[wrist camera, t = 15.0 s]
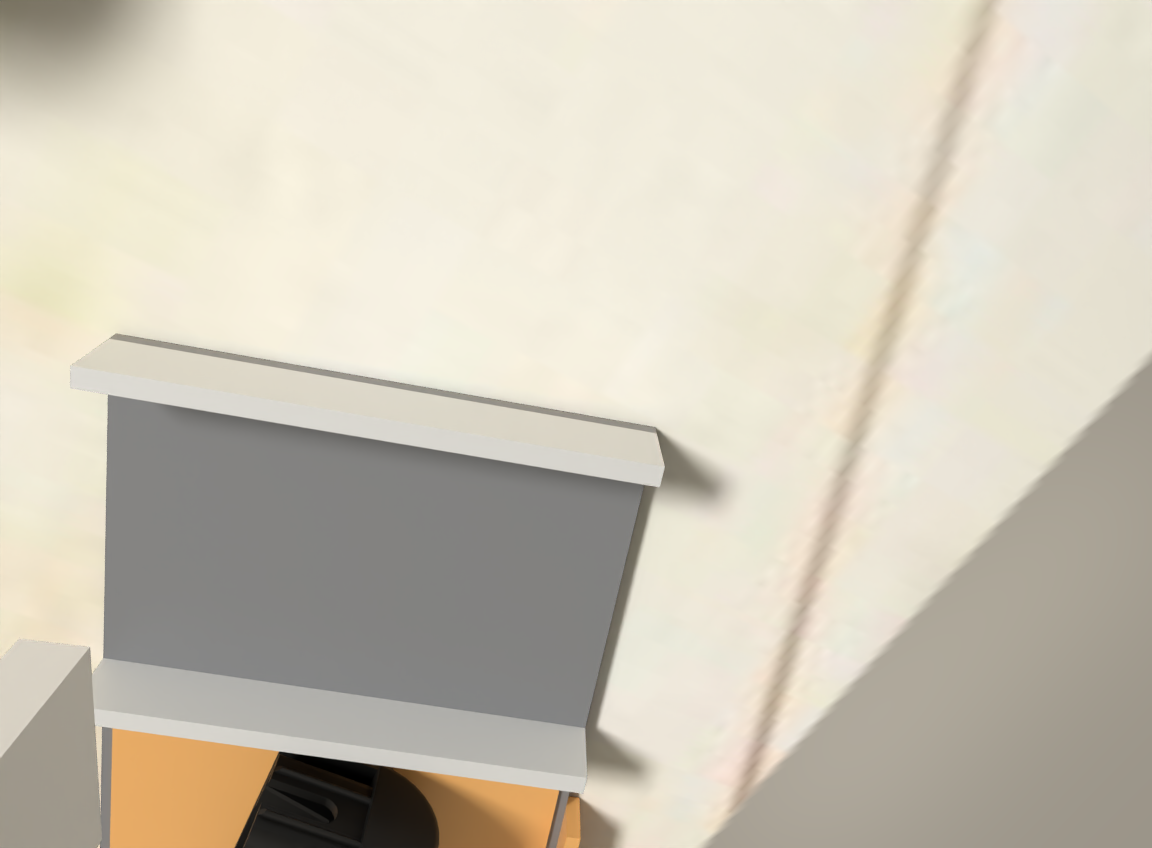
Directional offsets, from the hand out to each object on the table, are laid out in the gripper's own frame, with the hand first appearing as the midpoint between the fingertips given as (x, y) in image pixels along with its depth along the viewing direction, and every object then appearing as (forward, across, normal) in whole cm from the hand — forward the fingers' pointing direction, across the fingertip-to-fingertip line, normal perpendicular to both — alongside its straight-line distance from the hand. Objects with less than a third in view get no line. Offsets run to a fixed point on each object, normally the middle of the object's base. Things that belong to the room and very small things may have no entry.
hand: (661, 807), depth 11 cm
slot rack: (+25, +8, +19) cm, 33 cm away
